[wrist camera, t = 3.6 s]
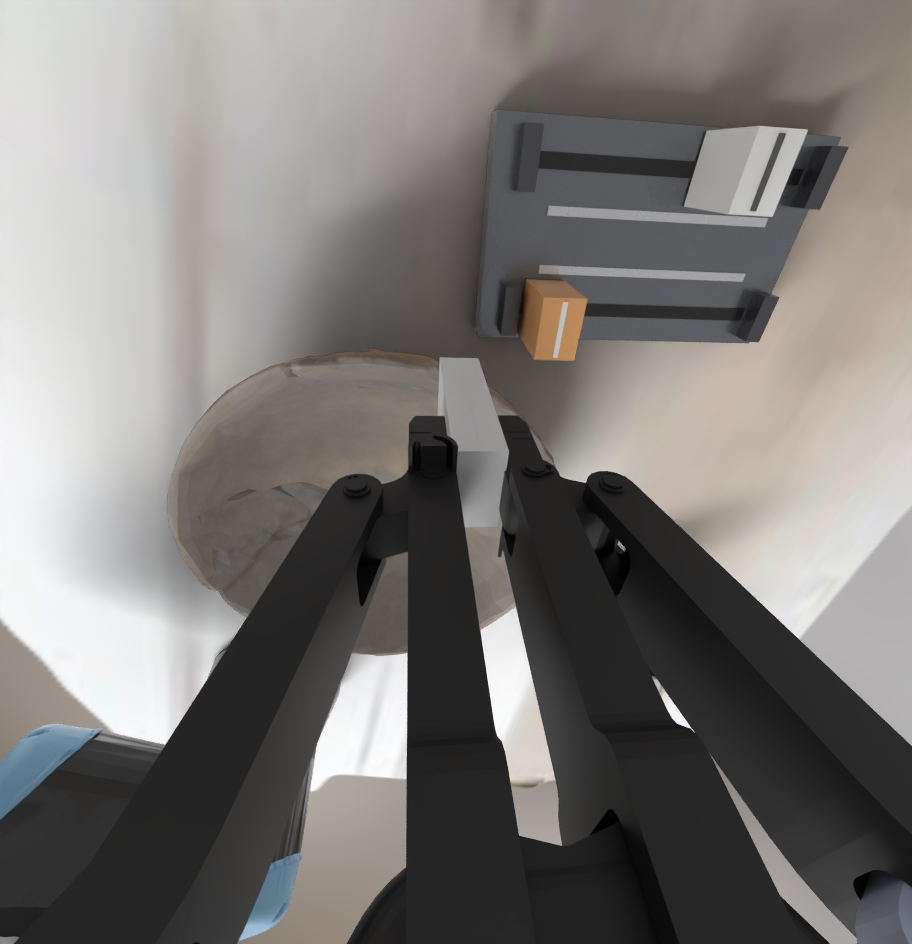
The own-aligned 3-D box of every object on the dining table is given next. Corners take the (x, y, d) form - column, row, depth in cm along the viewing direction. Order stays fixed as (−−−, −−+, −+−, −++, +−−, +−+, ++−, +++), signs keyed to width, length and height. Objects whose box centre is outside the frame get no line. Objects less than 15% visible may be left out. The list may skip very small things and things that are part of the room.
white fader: (683, 206, 26) (729, 214, 23) (706, 130, 24) (761, 125, 20) (722, 208, 27) (773, 217, 23) (748, 134, 24) (809, 129, 21)
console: (474, 327, 32) (480, 342, 29) (491, 112, 25) (501, 107, 22) (732, 334, 34) (759, 348, 31) (814, 138, 27) (858, 136, 24)
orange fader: (518, 335, 30) (534, 360, 26) (526, 279, 28) (544, 297, 24) (554, 336, 30) (574, 361, 26) (564, 280, 28) (588, 299, 24)
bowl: (286, 587, 46) (260, 679, 37) (151, 336, 30) (56, 403, 22) (535, 548, 46) (563, 633, 37) (530, 279, 30) (576, 324, 22)
